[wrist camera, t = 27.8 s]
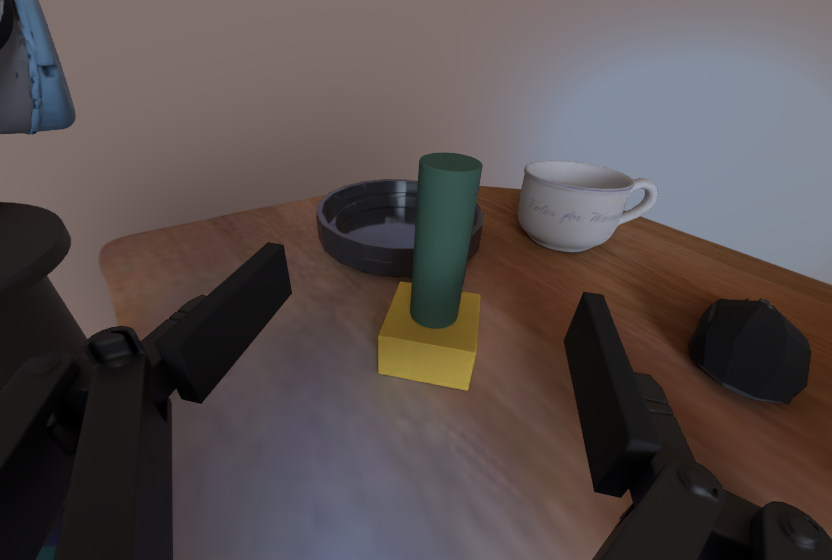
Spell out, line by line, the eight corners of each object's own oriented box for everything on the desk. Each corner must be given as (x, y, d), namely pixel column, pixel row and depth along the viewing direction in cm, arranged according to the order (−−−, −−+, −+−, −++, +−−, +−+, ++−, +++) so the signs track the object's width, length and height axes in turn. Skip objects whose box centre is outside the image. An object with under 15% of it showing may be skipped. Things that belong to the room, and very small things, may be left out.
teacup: (507, 252, 38) (525, 179, 34) (512, 213, 47) (526, 150, 42) (649, 278, 36) (688, 202, 31) (626, 231, 44) (654, 166, 40)
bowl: (290, 265, 34) (284, 232, 32) (352, 198, 48) (351, 172, 46) (472, 295, 32) (478, 261, 30) (482, 216, 46) (486, 189, 44)
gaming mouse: (790, 317, 32) (822, 280, 29) (792, 429, 22) (839, 387, 20) (706, 287, 35) (729, 252, 33) (677, 373, 25) (706, 332, 23)
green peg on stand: (377, 374, 24) (377, 172, 16) (398, 316, 29) (405, 140, 21) (468, 391, 23) (512, 188, 15) (473, 329, 28) (509, 152, 20)
